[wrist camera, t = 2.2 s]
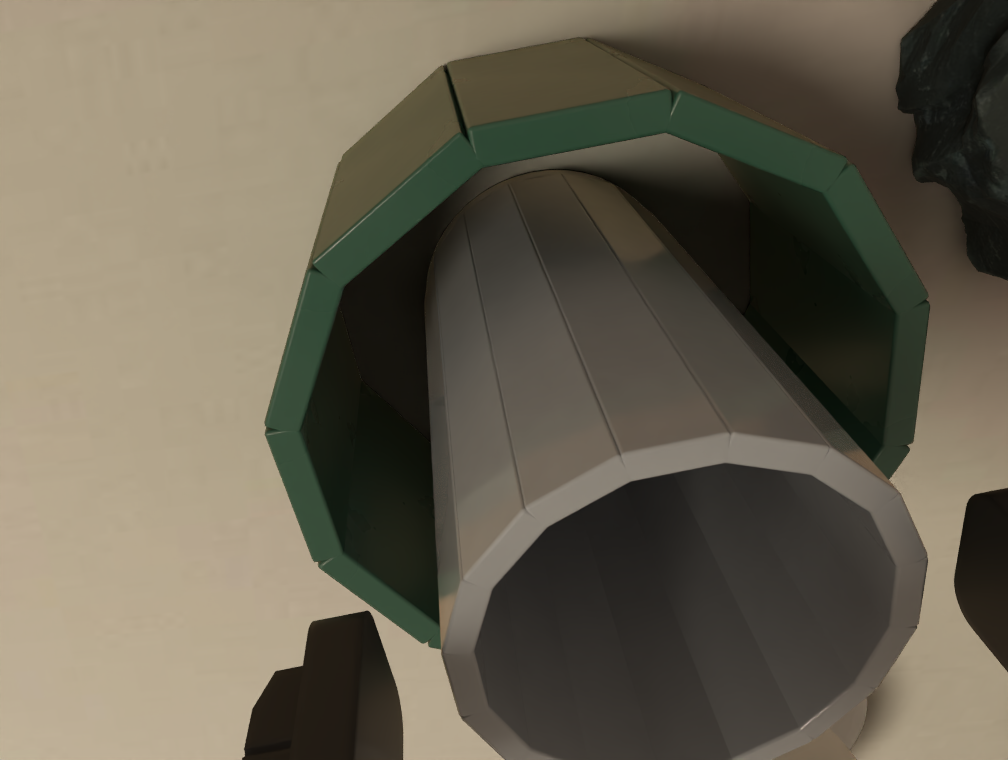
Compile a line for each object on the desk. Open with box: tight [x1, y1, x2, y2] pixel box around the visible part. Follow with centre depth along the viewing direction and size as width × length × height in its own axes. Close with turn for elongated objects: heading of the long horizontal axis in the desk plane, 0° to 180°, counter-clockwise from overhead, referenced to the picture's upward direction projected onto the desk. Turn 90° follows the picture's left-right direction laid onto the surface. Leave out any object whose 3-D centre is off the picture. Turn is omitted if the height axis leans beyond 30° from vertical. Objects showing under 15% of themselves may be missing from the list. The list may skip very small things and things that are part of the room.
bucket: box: [265, 38, 930, 649], centre depth 16 cm, size 11×11×6 cm
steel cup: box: [424, 170, 928, 760], centre depth 15 cm, size 6×6×11 cm
